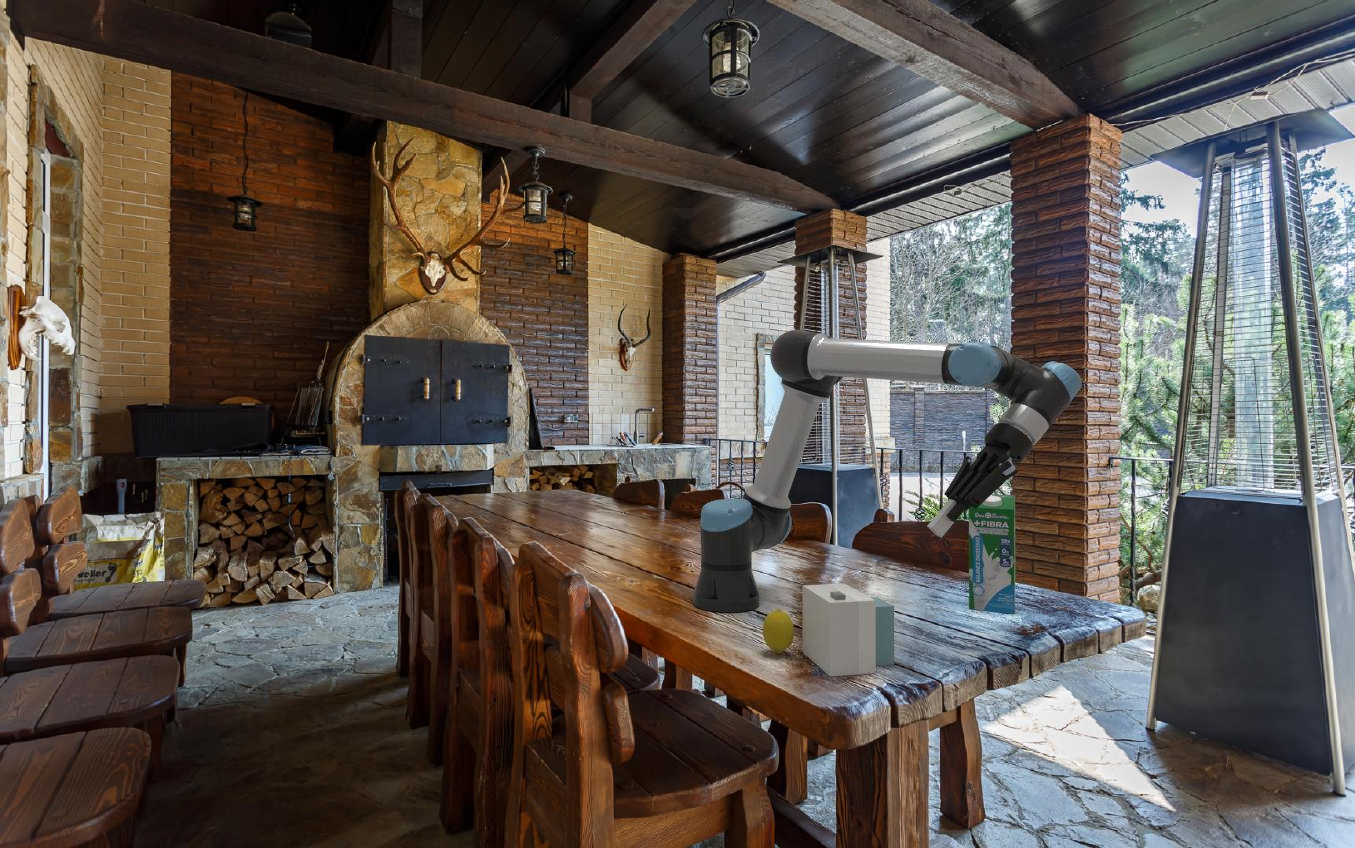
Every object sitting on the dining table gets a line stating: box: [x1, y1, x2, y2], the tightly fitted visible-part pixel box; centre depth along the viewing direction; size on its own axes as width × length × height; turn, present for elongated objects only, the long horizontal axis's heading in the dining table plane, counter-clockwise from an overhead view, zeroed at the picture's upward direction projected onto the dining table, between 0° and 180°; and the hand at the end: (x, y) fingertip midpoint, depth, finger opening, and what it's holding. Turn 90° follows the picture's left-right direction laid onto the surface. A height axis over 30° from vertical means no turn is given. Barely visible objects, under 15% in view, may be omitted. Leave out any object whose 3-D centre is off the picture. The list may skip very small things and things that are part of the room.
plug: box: [869, 596, 895, 667], centre depth 117 cm, size 6×8×10 cm
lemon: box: [762, 608, 795, 655], centre depth 120 cm, size 6×6×8 cm
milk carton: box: [968, 493, 1016, 615], centre depth 151 cm, size 9×9×25 cm
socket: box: [802, 583, 877, 678], centre depth 116 cm, size 12×8×13 cm, turn 11°
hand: (934, 531), depth 120 cm, fingers closed
